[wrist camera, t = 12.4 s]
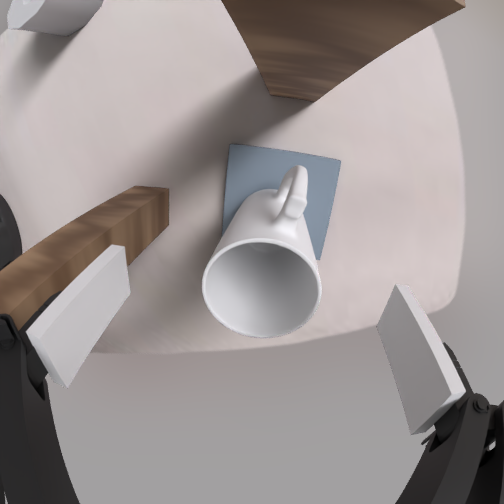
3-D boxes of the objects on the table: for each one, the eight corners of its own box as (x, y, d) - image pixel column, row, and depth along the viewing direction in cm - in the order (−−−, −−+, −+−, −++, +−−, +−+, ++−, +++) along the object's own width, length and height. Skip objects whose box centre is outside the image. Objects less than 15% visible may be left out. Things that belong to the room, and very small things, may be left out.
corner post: (136, 220, 28) (-12, 360, 9) (135, 185, 27) (-41, 306, 7) (168, 225, 28) (26, 389, 9) (169, 188, 26) (-10, 333, 7)
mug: (289, 262, 28) (290, 350, 17) (226, 238, 27) (190, 316, 16) (331, 169, 23) (373, 211, 12) (261, 141, 23) (242, 156, 12)
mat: (222, 241, 28) (221, 245, 28) (231, 143, 24) (229, 144, 23) (319, 256, 28) (319, 259, 27) (339, 160, 23) (341, 161, 22)
